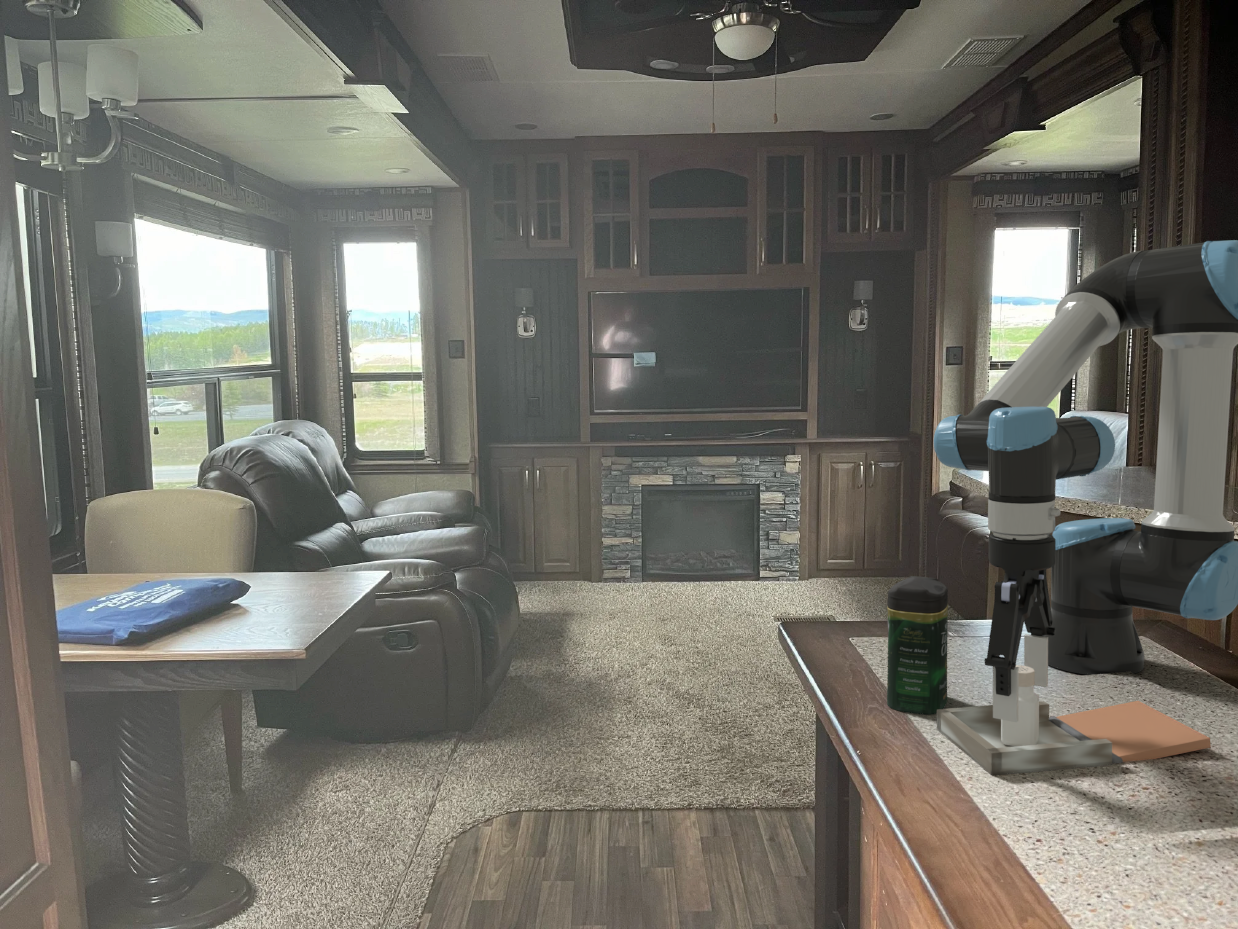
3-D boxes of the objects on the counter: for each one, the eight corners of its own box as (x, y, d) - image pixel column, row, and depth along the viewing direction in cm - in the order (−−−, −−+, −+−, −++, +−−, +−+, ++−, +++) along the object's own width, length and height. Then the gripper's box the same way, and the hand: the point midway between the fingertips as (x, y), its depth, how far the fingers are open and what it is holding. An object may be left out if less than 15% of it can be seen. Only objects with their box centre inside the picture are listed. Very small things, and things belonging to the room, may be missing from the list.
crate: (1043, 726, 121) (1044, 701, 121) (1111, 771, 108) (1112, 742, 107) (936, 735, 120) (936, 709, 119) (991, 782, 106) (991, 753, 106)
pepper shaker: (1035, 751, 111) (1036, 676, 110) (1000, 745, 113) (1000, 671, 112) (1039, 739, 114) (1040, 666, 113) (1005, 734, 116) (1005, 662, 115)
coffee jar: (940, 723, 124) (940, 589, 122) (881, 714, 128) (880, 584, 126) (953, 700, 132) (953, 574, 130) (897, 692, 136) (896, 570, 134)
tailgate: (1048, 727, 121) (1137, 709, 122) (1112, 769, 108) (1212, 749, 109) (1047, 717, 121) (1136, 699, 122) (1111, 758, 108) (1211, 737, 109)
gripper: (1026, 555, 99) (1026, 742, 101) (1078, 519, 118) (1077, 677, 120) (956, 549, 104) (957, 728, 106) (1017, 515, 123) (1017, 667, 125)
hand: (1021, 701), depth 113 cm, fingers open, 13 cm apart
